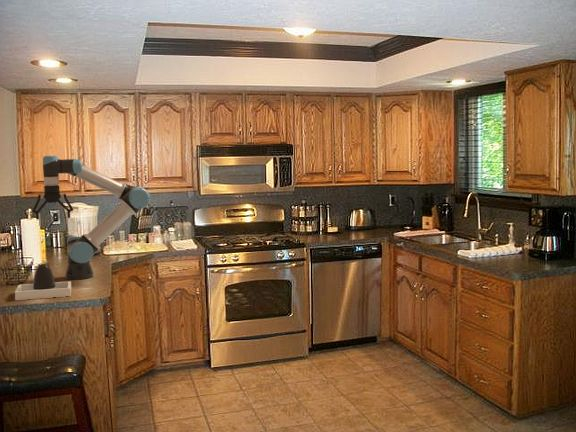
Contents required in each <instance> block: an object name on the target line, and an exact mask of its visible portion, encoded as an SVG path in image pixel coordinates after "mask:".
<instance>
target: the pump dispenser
mask: <svg viewBox="0 0 576 432" xmlns="http://www.w3.org/2000/svg"><path fill="white" fill-rule="evenodd" d="M52 271H53V270H52V269H51V267H50V266H49V265H48V264H47V263H41V264H39V263H38V266H37V267H36V269H35V272H34V276H33V280H32V284H33V289H34V290H45V289H55V282H56V281H55V280H56V279H55V277H54V273H53V272H52Z"/></svg>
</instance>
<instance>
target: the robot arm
mask: <svg viewBox="0 0 576 432" xmlns="http://www.w3.org/2000/svg"><path fill="white" fill-rule="evenodd" d="M58 157H59V156H58V155H44V156H43V157H42V171H43V172H42V174H43V175H42V176H43V185H44V186H43V190H44V194H38V196H37V200H36V202H35V204H34V206H33V209H32V213H35V215H36V217H35V218H36V220H37V221H38V226H39V227H41V226H42V223H41V221H42V220H41V213H40V212H41V211H42V209H43V208H44V207H45V205H46V204H47V203H50V204H51V203H54V204H56V203H58V204H59V205H61V206H62V208H64V210H65V211H66V212H65V215H66V216H65V217H66V218H65V219H66V225H69V219H70V218H71V212H73V211H74V208H73V206H72V205H71V202H69V200H68V198H67V194H66V193H62V194H61V192H60V175H61V174H68V175H70V176H72V177H75V178H77V179H80V180H82V181H83V182H86V183H88V184H90V185H93V186H95V187H97V188H99V189H101V190H103V191H105V192H108V193H109V194H112V195H113V196H115V197H116V198H117V199H119V200H120V203H119V204H118V206H116V207H115V208H114V209H113V210H112V211H111V212H110V213H109V214H108V215H107V216H106V217H104V219H103V220H101V221H100V222H99V223H97V225H96V226H95V227H94V228H93V229H92V230H91V231H90V232H88V233H83V234H82V235H81V236H73V237H67V238H66V239H67V240H66V245H67V250H66V251H67V267H66V271H65V274H64V276H65V277H64V278H65V280H74V281H75V280H85V279H90V278H93V277H94V271H93V267H92V266H91V260H92V258H93V256H94V255H95V254H96V253H97V252H98V251H99V250H100V245H101V244H102V243H104V241H105V240H107V238H108V237H110V235H112V234H113V233H114V232H115V231H116V230H117V229H118V228H120V226H122V224H123V223H124V222H125V221H127V219H129V218H130V217H131V216H132V215H137V214H138V213H139V212H140V211H141V210H142V209H144V208H146V207H147V206H148V205H149V204H150V201H151V196H150V195H151V194H150V193H149V191H148V190H146V188H144V187H142V186H134V185H131V184H128V183H126V182H125V183H122V182H120V181H117V180H115V179H113V178H111V177H109V176H106V175H104V174H102V173H100V172H98V171H95V170H94V169H91V168H89V167H88V166H86V165H85V166H84V165H83V162H82V159H80V158H79V159H78V158H72V159H71V158H70V159H68V158H65V159H60V158H58ZM43 198H44V199H45V201H44V202H42V204H41V205H40V206H39V208H38V205H39V203H40V201H41V200H43ZM61 198H62V199H64V201H65V202H66V204H67V205H68V207H69V208H68V207H67V206H66V205H65V203H63V201H61V200H60V199H61ZM37 208H38V209H37ZM36 209H37V210H36Z"/></svg>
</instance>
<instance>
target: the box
mask: <svg viewBox="0 0 576 432" xmlns="http://www.w3.org/2000/svg"><path fill="white" fill-rule="evenodd" d="M66 296H69V297H71V296H72V281H71V280H70V281H58V282H57V281H55V289H45V290H34V289H33V283H24V284H18V286H17V287H16V289H15V291H14V300H15V301H25V300H26V301H29V300H41V298H42V299H52V298H53V297H56V298H67V297H66ZM28 299H29V300H28Z"/></svg>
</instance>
